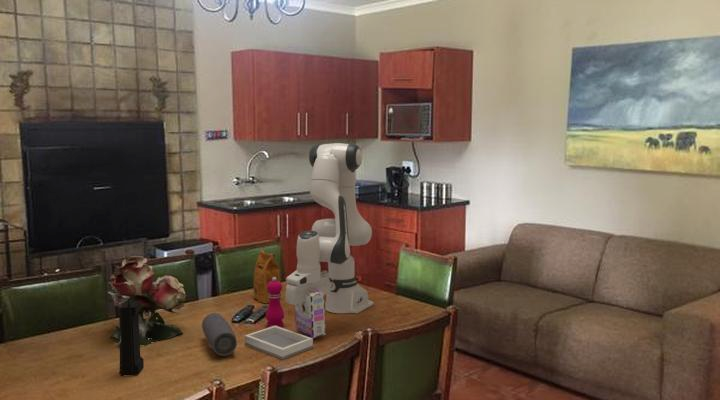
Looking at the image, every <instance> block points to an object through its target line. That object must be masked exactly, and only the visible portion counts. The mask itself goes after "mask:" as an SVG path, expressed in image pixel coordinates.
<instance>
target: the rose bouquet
mask: <svg viewBox="0 0 720 400" xmlns="http://www.w3.org/2000/svg"><path fill="white" fill-rule="evenodd" d="M147 262H148V258H146V257H145V258H144V256H142V255H141V256H140V255H131V256H130V257H129V258H124V260H123V261H122V265H121V266H118V265H117V266H116V267H115V269H116V270H118V271H115V272H113V273H112V274H111V275H110V280H111V279H114V280H112V281H107V282H108V284H110V285H111V286H112V288H111V290H108V291H107V293H108V294H110V295H111V298H112V300H113V302H114V303H113V305H114V306H116V307H119V308H120V307H121V306H122V305H123V304H124V303H125V302H126V301H128V299H130V300H129V301H140V302H141V310H140V311H139V312H138V316H139V338H140V345H145V346H147V345H151V344H152V343H151V342H154V343H153V344H155V343H157V342H159V341H161V340H166V339H170V338H174V337H176V336H177V335H179V334H183V332H182V331H183V330H184V331H185V329H183V330H182V329H181V328H180V327H177V326H174V325H173V324H169V323H167V322H165V320H164V318H163V317H162V316H161V315H160V313H159V312H158V310H159V309H161V310H164V311H166V312H168V313H171V314H172V315H173V314H178V315H179V313H178V312H176V311H173V309H174V310H181V309H182V308H183V307H185V302H184V301H185V299H186V298H187V294H186V291H185V289H184V287H186V286H185V285H184V284H183V283H180V282H179V280H178V279H177V278H176V277H174V276H172V275H163V276H162V277H161V276H159V277H157V278H156V281H153V279H154V275H155V271H153V266H152V265H148V264H147ZM180 301H182V302H180ZM144 316H145V317H147V318H145V317H144ZM113 328H114V331H113V333H112V334H109V338H110V337H112V338H116V339H117V340H119V342H114V343H113V344H114V345H116V346H118V347H119V348H120V343H121V332H120V325H117V326H113ZM148 338H150V339H149V340H148ZM151 338H152V339H151Z"/></svg>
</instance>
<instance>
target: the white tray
mask: <svg viewBox="0 0 720 400" xmlns="http://www.w3.org/2000/svg"><path fill="white" fill-rule="evenodd" d="M244 345H245V346H247V347H249V348H252V349H255V350H257V351H260V352H262V353H265V354H267V355H269V356H272V357H275V358H277V359H279V360H282V361H283V360H285V359H288V358H290V357H293V356H296V355H298V354H300V353H303V352H304V353H305V352H307V351H308V350H312V349H313V348H314V338H312V337H310V336H308V335H304V334H302V333H299V332H295V331H293V330H290V329H287V328H284V327H282V328H281V327H278V326H272V327H269V328H268V327H267V328H263V329H261V330H258V331H255V332H254V331H253V332H251V333H248V334H245V335H244Z"/></svg>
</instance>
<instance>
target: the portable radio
mask: <svg viewBox="0 0 720 400" xmlns="http://www.w3.org/2000/svg"><path fill="white" fill-rule="evenodd" d="M129 300H130V299H128V301H126V302H125V303H124V304H123V305H122V306H121V307H119V308H118V321H119V326H120V332H121V343H120V347H119V375H120V376H121V377H124V375H133V376H138V374H139V373H141V372H142V371H141V370H143V369H144V367H145V366H144V358H143V357H142V356H141V347H140V338H139V316H138V312H139V311H140V310H141V302H140V301H129ZM139 375H140V374H139Z"/></svg>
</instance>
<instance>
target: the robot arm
mask: <svg viewBox="0 0 720 400" xmlns="http://www.w3.org/2000/svg"><path fill="white" fill-rule="evenodd" d="M362 160H363V154H362V149H361V147H359V145H358V144H354V143H342V142H334V143H324V144H323V143H318V144H314V145H313V146H311V148H310V150H309V153H308V161H309V165H311V167H312V170H311V176H310V182H309V194H310V197H311V198H312V199H313V201H314V202H315V203H317V204H319V205H320V206H322V207H324V208H326V209H329V210H330V211H332V213H333V215H334V218H322V219H318V220H317V219H316V221H315V222H313V224H312V227H311V230H305V231H301V232H300V233H299V234H298V236H297V241H296V258H297V265H296V270H294V271H293V272H292V273H291V274H290V275H288V276H287V277H286V278H285V281H286V283H287V284H286V287H285V302H286V303H287V304H288V305H291V306H295V305H296V306H297V307H298V310H299V313H300V314H302V313H304V312H305V311H304V310H305V309H304V308H302V306H301V305H303V302H305V300H306V293H307V292H309V291H312V290H318V291H320V292H323V293H324V296H326V299H325V301H324V308H325V311H327V312H329V313H334V314H359V313H360V312H362V311H364V310H366V309H369V307H371V306H373V305H374V302H373V301H372V300H370V299H369V295H368V291H367V290H366V289H365V288H363V286H361V285H360V284H358V282H357V281H359V282H360V281H361V280H362V276H361V275H355V259H354V257H353V256H352V255H351V248H350V247H351V246H352V247H353V246H355V247H357V246H361V245H362V246H363V245H367V244H368V243H369V242H370V241H371V239H372V234H373V232H372V231H373V229H372V226H371V225H370V224H369V222H368V221H366V220H365V219H364V218H363V216H362V215H361V214H360V212H359V209H358V207H357V199H356V176H355V173H356V172H355V171H357V170H358V169H359V167H361V164H362ZM321 262H322V263H327V266H328V271H327V270H324V269H323V270H322V271H321Z"/></svg>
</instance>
